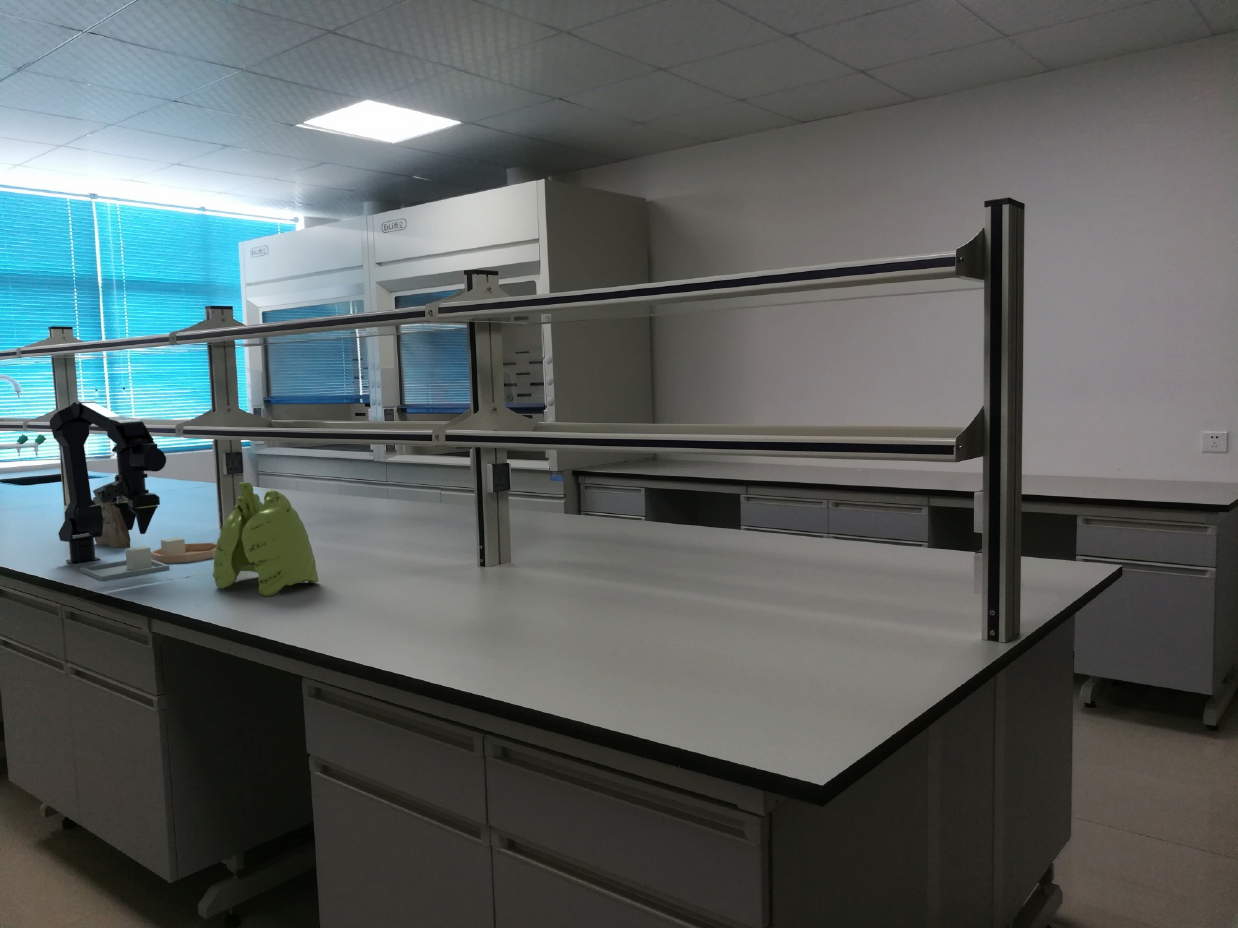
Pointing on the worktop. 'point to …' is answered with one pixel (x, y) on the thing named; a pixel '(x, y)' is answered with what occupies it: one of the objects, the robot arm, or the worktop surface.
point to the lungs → (264, 543)
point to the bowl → (187, 553)
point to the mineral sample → (112, 527)
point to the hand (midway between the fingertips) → (136, 531)
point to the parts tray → (119, 570)
